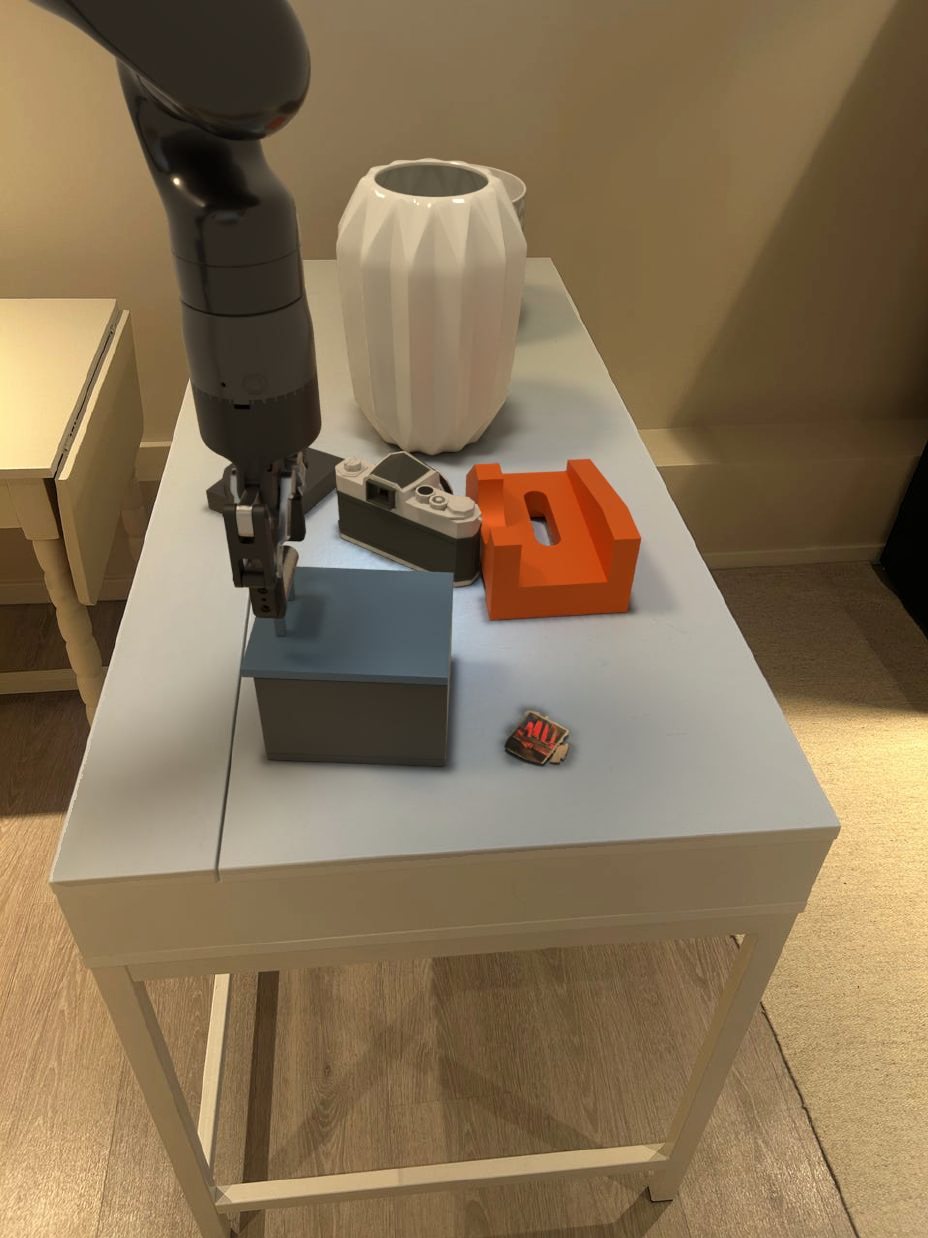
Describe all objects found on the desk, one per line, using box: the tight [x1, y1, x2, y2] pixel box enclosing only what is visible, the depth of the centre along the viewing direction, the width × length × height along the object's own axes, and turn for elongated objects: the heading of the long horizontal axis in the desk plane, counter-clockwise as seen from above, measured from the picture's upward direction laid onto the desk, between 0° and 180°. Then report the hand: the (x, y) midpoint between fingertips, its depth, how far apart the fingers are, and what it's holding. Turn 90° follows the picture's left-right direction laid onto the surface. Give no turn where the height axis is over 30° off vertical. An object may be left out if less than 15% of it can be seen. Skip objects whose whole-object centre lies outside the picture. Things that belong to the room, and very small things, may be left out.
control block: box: [205, 446, 346, 529], centre depth 96 cm, size 12×9×4 cm
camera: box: [335, 450, 483, 588], centre depth 89 cm, size 16×9×10 cm, turn 58°
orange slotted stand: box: [464, 458, 642, 621], centre depth 88 cm, size 18×13×8 cm
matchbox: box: [504, 709, 570, 765], centre depth 73 cm, size 5×5×1 cm
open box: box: [252, 597, 454, 767], centre depth 73 cm, size 14×12×9 cm
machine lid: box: [240, 544, 454, 685], centre depth 68 cm, size 14×12×5 cm
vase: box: [335, 157, 528, 456], centre depth 99 cm, size 20×20×28 cm
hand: (281, 575), depth 67 cm, fingers open, 8 cm apart
